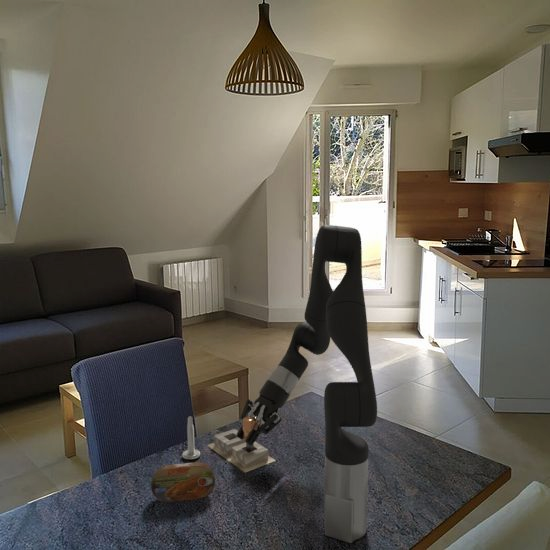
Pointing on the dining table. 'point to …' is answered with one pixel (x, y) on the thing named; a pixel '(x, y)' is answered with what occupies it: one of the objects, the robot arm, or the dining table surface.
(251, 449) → the copper-coloured round peg
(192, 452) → the screw
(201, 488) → the tin
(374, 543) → the dining table surface
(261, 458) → the white peg insertion board
